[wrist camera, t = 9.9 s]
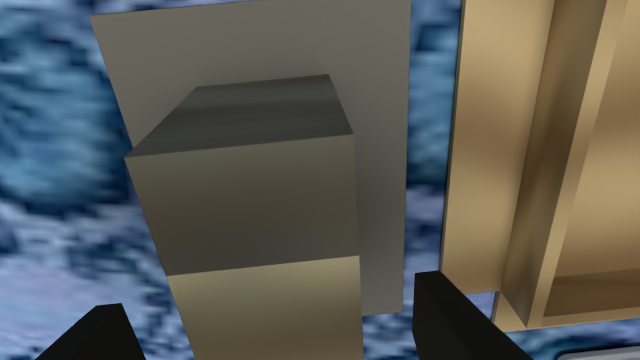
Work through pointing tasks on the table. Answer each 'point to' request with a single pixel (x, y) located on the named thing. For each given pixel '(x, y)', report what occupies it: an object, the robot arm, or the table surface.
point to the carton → (546, 161)
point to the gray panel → (277, 63)
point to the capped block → (257, 219)
